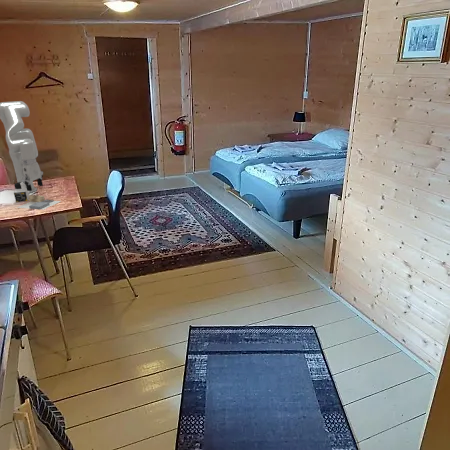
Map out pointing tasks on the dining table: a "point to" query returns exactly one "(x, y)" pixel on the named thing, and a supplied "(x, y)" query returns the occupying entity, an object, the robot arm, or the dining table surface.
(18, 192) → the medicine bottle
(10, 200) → the dining table surface
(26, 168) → the robot arm
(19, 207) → the mat
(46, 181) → the dining table surface
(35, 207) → the tile
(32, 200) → the turner
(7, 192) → the dining table surface
